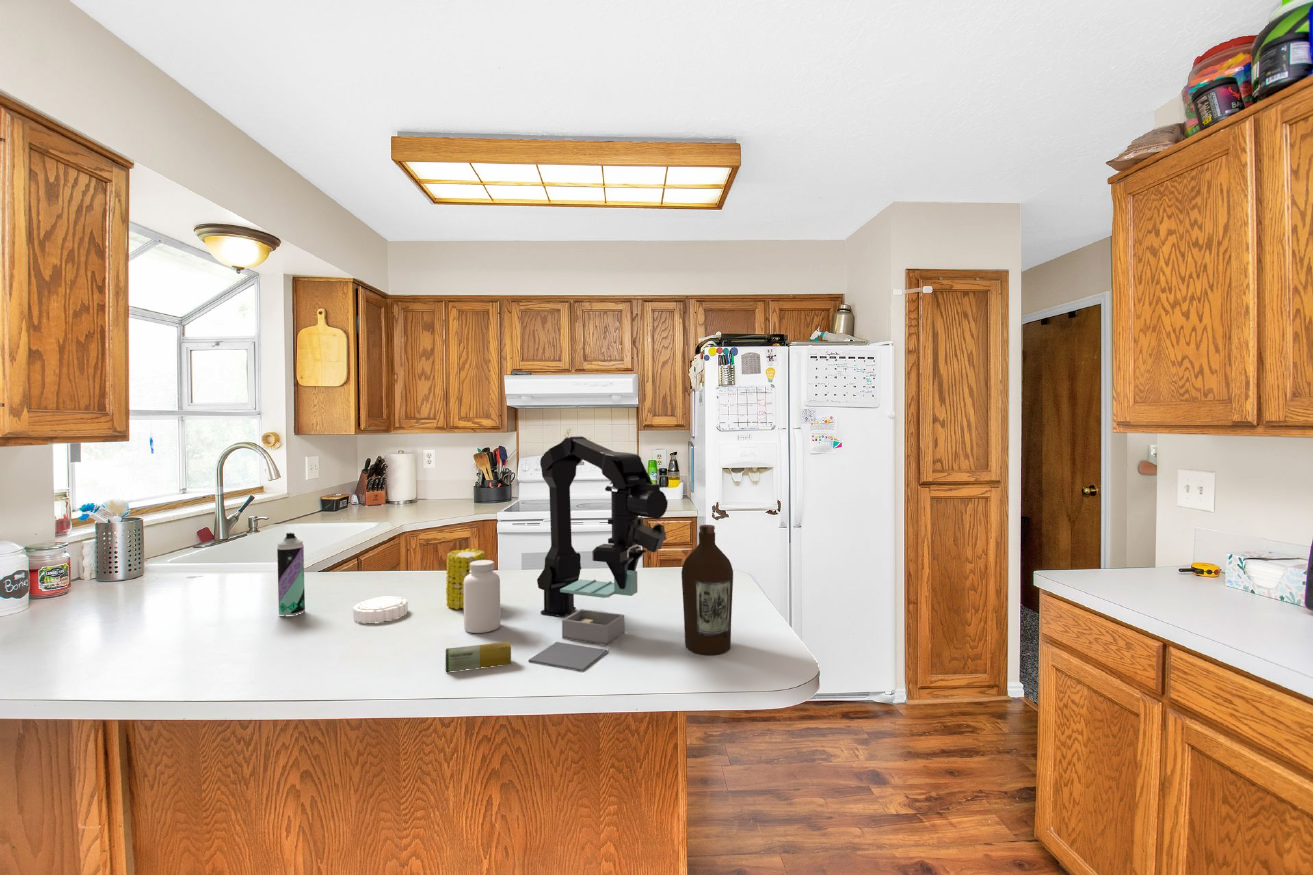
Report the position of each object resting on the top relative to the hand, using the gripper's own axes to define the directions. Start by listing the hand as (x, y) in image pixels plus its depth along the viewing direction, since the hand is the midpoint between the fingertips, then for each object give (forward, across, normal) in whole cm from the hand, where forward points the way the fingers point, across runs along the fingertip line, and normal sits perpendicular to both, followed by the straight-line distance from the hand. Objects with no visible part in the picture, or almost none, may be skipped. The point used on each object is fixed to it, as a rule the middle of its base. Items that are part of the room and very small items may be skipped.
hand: (625, 586), depth 123 cm
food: (+12, +7, +49) cm, 51 cm away
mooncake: (+12, -7, +63) cm, 64 cm away
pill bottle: (+12, -5, +34) cm, 36 cm away
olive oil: (+12, +3, -17) cm, 21 cm away
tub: (+12, 0, +8) cm, 14 cm away
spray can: (+12, -14, +85) cm, 87 cm away
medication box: (+12, -22, +21) cm, 33 cm away
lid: (+2, 0, +6) cm, 6 cm away
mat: (+12, -12, +7) cm, 18 cm away
